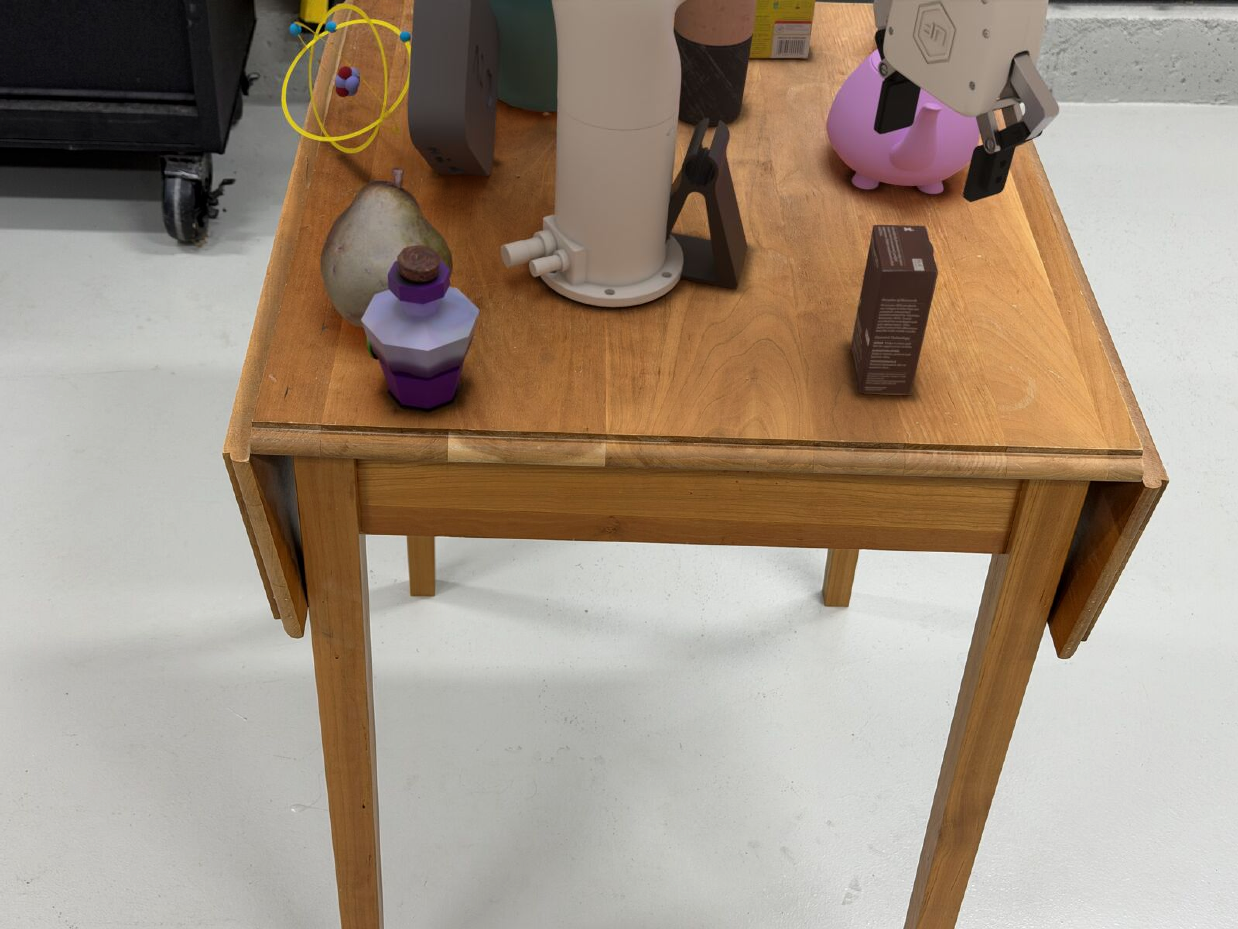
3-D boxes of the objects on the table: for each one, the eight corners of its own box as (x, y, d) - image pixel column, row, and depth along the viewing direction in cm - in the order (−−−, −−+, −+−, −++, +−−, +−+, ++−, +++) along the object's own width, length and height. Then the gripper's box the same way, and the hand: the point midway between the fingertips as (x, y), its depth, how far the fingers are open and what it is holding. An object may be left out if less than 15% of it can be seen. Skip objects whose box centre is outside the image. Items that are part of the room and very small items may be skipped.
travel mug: (745, 130, 137) (770, -72, 124) (667, 125, 137) (684, -77, 123) (741, 91, 143) (765, -106, 129) (666, 87, 143) (682, -111, 129)
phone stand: (747, 250, 122) (768, 128, 114) (736, 289, 118) (758, 165, 110) (646, 231, 123) (660, 108, 115) (632, 269, 119) (646, 144, 111)
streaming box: (446, 28, 131) (501, 29, 131) (437, 180, 130) (492, 182, 130) (411, -36, 117) (472, -35, 116) (401, 135, 116) (462, 136, 115)
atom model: (272, -40, 126) (251, 103, 134) (292, 22, 115) (267, 175, 122) (420, -11, 132) (391, 125, 139) (452, 51, 121) (419, 195, 128)
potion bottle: (362, 359, 109) (351, 226, 101) (472, 349, 111) (470, 218, 103) (372, 430, 103) (361, 295, 95) (489, 419, 104) (488, 285, 96)
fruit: (458, 283, 116) (454, 156, 108) (448, 354, 110) (443, 225, 101) (334, 277, 116) (320, 150, 108) (316, 349, 109) (300, 218, 101)
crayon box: (803, 46, 151) (820, -60, 143) (808, 59, 149) (825, -48, 141) (735, 45, 150) (748, -62, 142) (739, 58, 148) (752, -49, 140)
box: (845, 347, 113) (871, 221, 105) (901, 349, 113) (931, 224, 105) (854, 396, 109) (882, 268, 101) (912, 398, 109) (944, 271, 101)
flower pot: (654, 60, 146) (667, -104, 135) (611, 145, 134) (621, -27, 122) (489, 32, 149) (487, -131, 137) (431, 113, 136) (424, -59, 125)
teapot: (984, 236, 126) (1019, 111, 117) (827, 225, 126) (850, 99, 117) (956, 123, 140) (985, 5, 132) (815, 113, 140) (835, -6, 132)
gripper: (858, -125, 90) (819, 116, 101) (1044, -17, 79) (976, 238, 91) (948, -142, 93) (900, 94, 104) (1139, -40, 82) (1062, 210, 94)
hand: (936, 161), depth 98 cm, fingers open, 9 cm apart
